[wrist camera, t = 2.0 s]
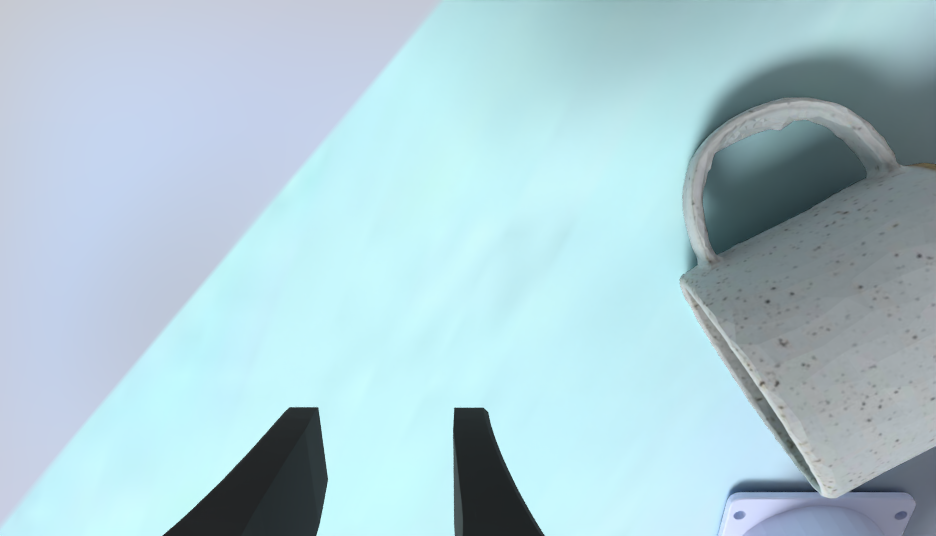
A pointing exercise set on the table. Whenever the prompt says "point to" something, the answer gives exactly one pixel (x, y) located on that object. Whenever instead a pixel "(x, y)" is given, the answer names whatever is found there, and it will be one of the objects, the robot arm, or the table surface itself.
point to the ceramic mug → (828, 305)
